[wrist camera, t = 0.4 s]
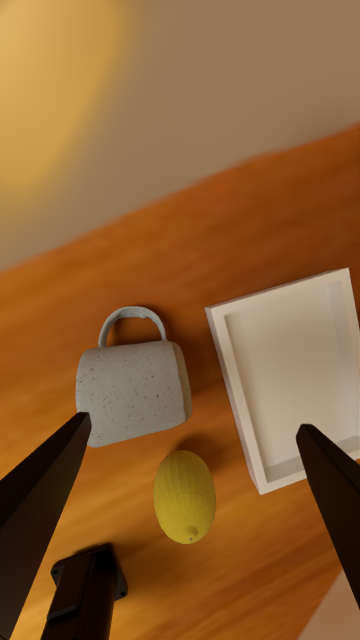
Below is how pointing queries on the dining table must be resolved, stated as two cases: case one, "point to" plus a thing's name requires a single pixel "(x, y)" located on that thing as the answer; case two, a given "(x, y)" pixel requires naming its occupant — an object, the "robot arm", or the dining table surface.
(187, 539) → the lemon
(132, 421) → the ceramic mug
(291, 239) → the dining table surface
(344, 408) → the tray
